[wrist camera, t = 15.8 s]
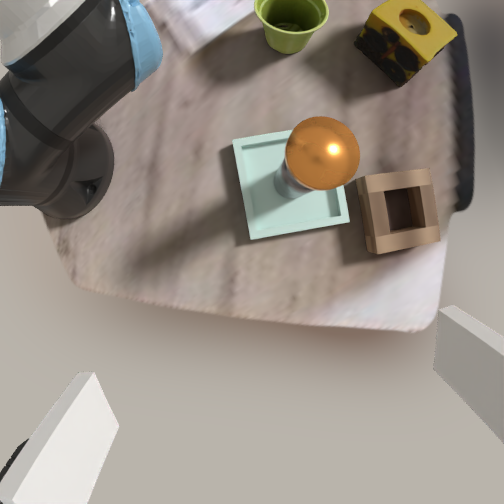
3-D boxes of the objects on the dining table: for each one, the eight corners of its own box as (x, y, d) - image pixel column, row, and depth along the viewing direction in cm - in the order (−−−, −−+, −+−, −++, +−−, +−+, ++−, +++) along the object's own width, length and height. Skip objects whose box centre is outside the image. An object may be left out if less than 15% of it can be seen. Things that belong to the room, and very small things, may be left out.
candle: (430, 59, 40) (460, 34, 30) (400, 90, 40) (430, 64, 31) (385, 17, 39) (407, -14, 29) (351, 44, 40) (370, 10, 30)
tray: (250, 238, 43) (250, 239, 41) (233, 143, 42) (232, 139, 40) (345, 221, 42) (349, 222, 40) (327, 129, 41) (330, 125, 39)
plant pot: (262, 68, 40) (264, 38, 32) (247, 20, 39) (246, -13, 31) (325, 59, 40) (338, 30, 31) (306, 12, 39) (315, -20, 31)
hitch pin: (274, 205, 42) (294, 194, 22) (266, 165, 41) (279, 121, 22) (315, 198, 41) (366, 183, 22) (307, 158, 41) (350, 113, 21)
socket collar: (367, 251, 43) (377, 254, 39) (355, 179, 42) (364, 175, 38) (426, 239, 43) (440, 241, 39) (416, 171, 42) (429, 168, 38)
